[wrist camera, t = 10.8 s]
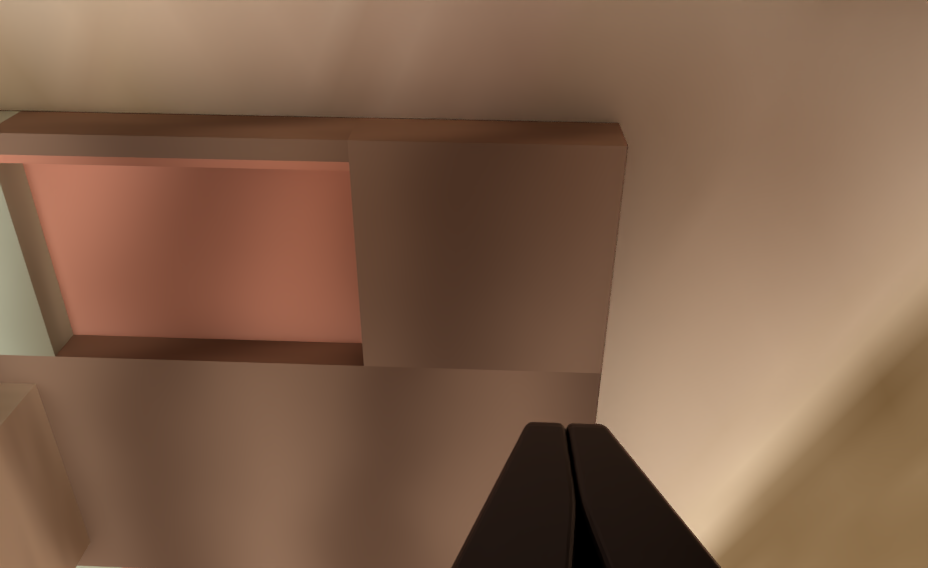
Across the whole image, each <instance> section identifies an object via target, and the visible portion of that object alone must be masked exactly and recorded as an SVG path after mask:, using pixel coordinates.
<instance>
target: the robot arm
mask: <svg viewBox="0 0 928 568" xmlns="http://www.w3.org/2000/svg"><path fill="white" fill-rule="evenodd" d="M451 568H721V567H720V566H719V564H718V563H717V562H716V561H715V559H714V558H713V557H712V556H711V555H710V553H709V552H708V551H707V550H706V548H705V547H704V546H703V545H702V543H701V542H700V541H699V540H698V539H697V537H696V536H695V535H694V534H693V532H692V531H691V530H690V529H689V528H688V526H687V525H686V524H685V523H684V521H683V520H682V519H681V518H680V516H679V515H678V514H677V513H676V512H675V510H674V509H673V508H672V507H671V505H670V504H669V503H668V502H667V500H666V499H665V498H664V497H663V496H662V494H661V493H660V492H659V491H658V489H657V488H656V487H655V486H654V484H653V483H652V482H651V481H650V480H649V478H648V477H647V476H646V475H645V473H644V472H643V471H642V470H641V469H640V467H639V466H638V465H637V464H636V462H635V461H634V460H633V459H632V457H631V456H630V455H629V454H628V453H627V451H626V450H625V449H624V448H623V446H622V445H621V444H620V443H619V441H618V440H617V439H616V438H615V437H614V435H613V434H612V433H611V432H610V430H609V429H608V428H607V427H605V426H604V425H601V424H582V423H571V424H569V425H568V426H567V428H565V427H564V425H563V424H561V423H552V422H530V423H528V424H527V425H526V426H525V427H524V429H523V431H522V433H521V434H520V436H519V438H518V440H517V442H516V444H515V446H514V448H513V450H512V452H511V454H510V456H509V457H508V459H507V461H506V463H505V465H504V467H503V469H502V471H501V473H500V475H499V477H498V479H497V480H496V482H495V484H494V486H493V488H492V490H491V492H490V494H489V496H488V498H487V500H486V502H485V504H484V505H483V507H482V509H481V511H480V513H479V515H478V517H477V519H476V521H475V523H474V525H473V527H472V528H471V530H470V532H469V534H468V536H467V538H466V540H465V542H464V544H463V546H462V548H461V550H460V552H459V553H458V555H457V557H456V559H455V561H454V563H453V565H452V567H451Z"/></svg>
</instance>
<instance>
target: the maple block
mask: <svg viewBox="0 0 928 568" xmlns="http://www.w3.org/2000/svg"><path fill="white" fill-rule="evenodd" d="M89 544H90V539H89V537H88V534H87V531H86V528H85V525H84V522H83V519H82V516H81V513H80V511H79V508H78V505H77V502H76V499H75V496H74V493H73V490H72V488H71V485H70V482H69V479H68V476H67V473H66V470H65V467H64V464H63V462H62V459H61V456H60V453H59V450H58V447H57V444H56V441H55V439H54V436H53V433H52V430H51V427H50V424H49V421H48V418H47V415H46V413H45V410H44V407H43V404H42V401H41V398H40V395H39V392H38V390H37V387H36V384H22V383H0V568H76V566H77V565H78V563H79V561H80V559H81V558H82V556H83V554H84V552H85V551H86V549H87V547H88V545H89Z"/></svg>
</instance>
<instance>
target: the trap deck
mask: <svg viewBox="0 0 928 568" xmlns="http://www.w3.org/2000/svg"><path fill="white" fill-rule="evenodd" d="M627 150H628V145H627V142H626V140H625V137H624V135H623V132H622V130H621V127H620V124H619V123H592V122H541V121H491V120H440V119H389V118H339V117H288V116H237V115H186V114H136V113H85V112H34V111H0V383H22V384H36V387H37V390H38V392H39V395H40V398H41V401H42V404H43V407H44V410H45V413H46V415H47V418H48V421H49V424H50V427H51V430H52V433H53V436H54V439H55V441H56V444H57V447H58V450H59V453H60V456H61V459H62V462H63V464H64V467H65V470H66V473H67V476H68V479H69V482H70V485H71V488H72V490H73V493H74V496H75V499H76V502H77V505H78V508H79V511H80V513H81V516H82V519H83V522H84V525H85V528H86V531H87V534H88V537H89V539H90V544H89V545H88V547H87V549H86V551H85V552H84V554H83V556H82V558H81V559H80V561H79V563H78V565H77V566H76V568H451V567H452V565H453V563H454V561H455V559H456V557H457V555H458V553H459V552H460V550H461V548H462V546H463V544H464V542H465V540H466V538H467V536H468V534H469V532H470V530H471V528H472V527H473V525H474V523H475V521H476V519H477V517H478V515H479V513H480V511H481V509H482V507H483V505H484V504H485V502H486V500H487V498H488V496H489V494H490V492H491V490H492V488H493V486H494V484H495V482H496V480H497V479H498V477H499V475H500V473H501V471H502V469H503V467H504V465H505V463H506V461H507V459H508V457H509V456H510V454H511V452H512V450H513V448H514V446H515V444H516V442H517V440H518V438H519V436H520V434H521V433H522V431H523V429H524V427H525V426H526V425H527V424H528V423H530V422H552V423H561V424H563V425H564V427H565V428H567V426H568V425H569V424H571V423H582V424H595V422H596V414H597V405H598V397H599V388H600V380H601V371H602V363H603V354H604V346H605V337H606V329H607V320H608V312H609V303H610V295H611V286H612V278H613V269H614V260H615V252H616V243H617V235H618V226H619V218H620V209H621V201H622V192H623V184H624V175H625V167H626V158H627Z"/></svg>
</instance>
